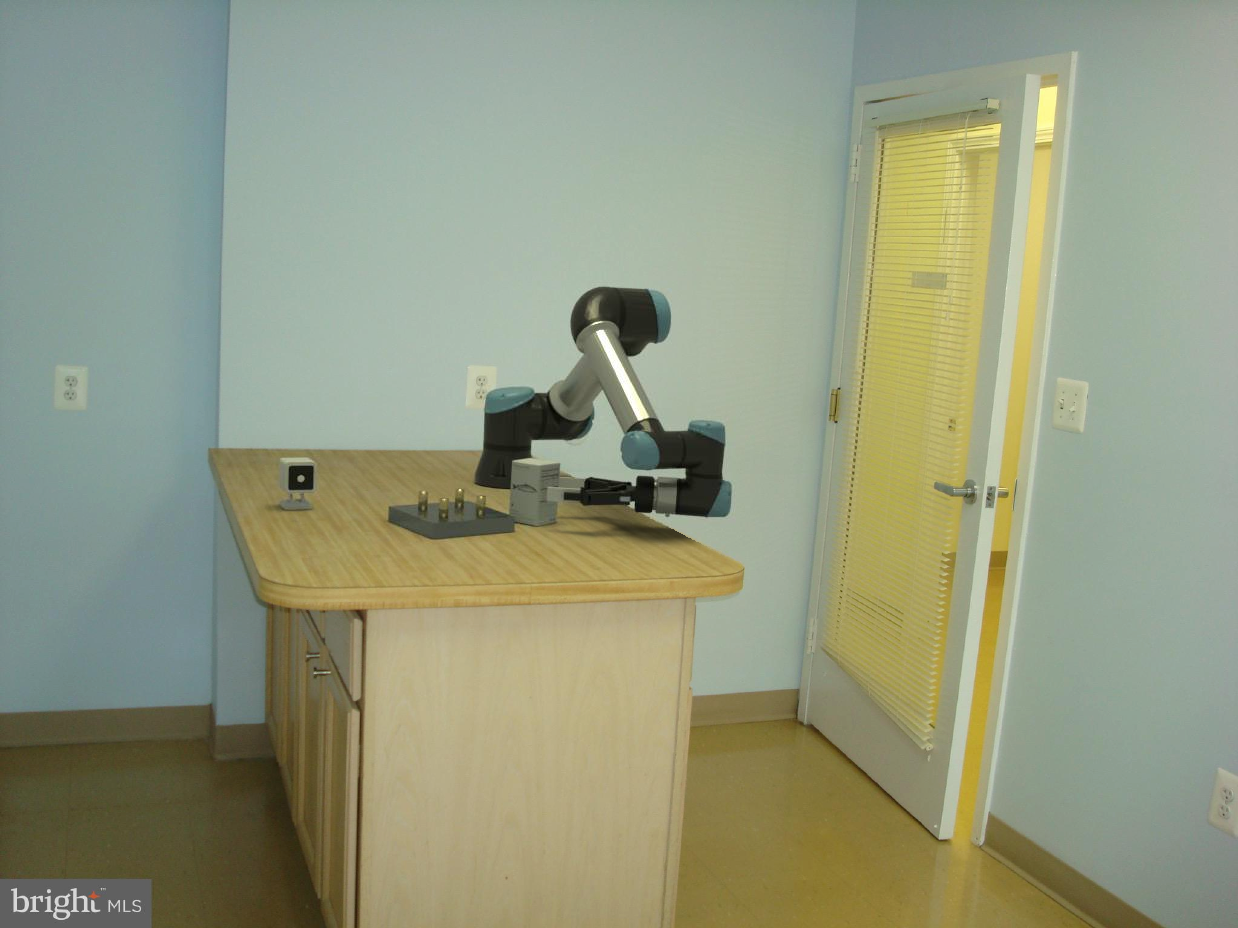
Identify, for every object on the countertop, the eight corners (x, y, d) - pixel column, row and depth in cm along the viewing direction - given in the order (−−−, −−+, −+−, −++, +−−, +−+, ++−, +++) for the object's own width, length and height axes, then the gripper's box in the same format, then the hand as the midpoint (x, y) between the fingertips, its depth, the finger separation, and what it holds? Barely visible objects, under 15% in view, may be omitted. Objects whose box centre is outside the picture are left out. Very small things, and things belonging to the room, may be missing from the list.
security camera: (284, 511, 232) (285, 462, 231) (277, 505, 238) (278, 457, 237) (316, 510, 235) (317, 461, 233) (308, 504, 241) (309, 456, 240)
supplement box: (507, 521, 235) (510, 460, 234) (529, 516, 242) (532, 457, 240) (537, 527, 232) (540, 464, 230) (558, 522, 238) (561, 461, 236)
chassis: (467, 514, 240) (468, 483, 239) (514, 531, 226) (516, 498, 225) (388, 521, 228) (389, 488, 228) (432, 539, 215) (433, 504, 214)
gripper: (653, 525, 223) (543, 517, 223) (653, 502, 247) (554, 496, 248) (655, 486, 221) (545, 479, 222) (655, 467, 246) (556, 461, 247)
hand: (550, 488), depth 235 cm, fingers open, 13 cm apart
